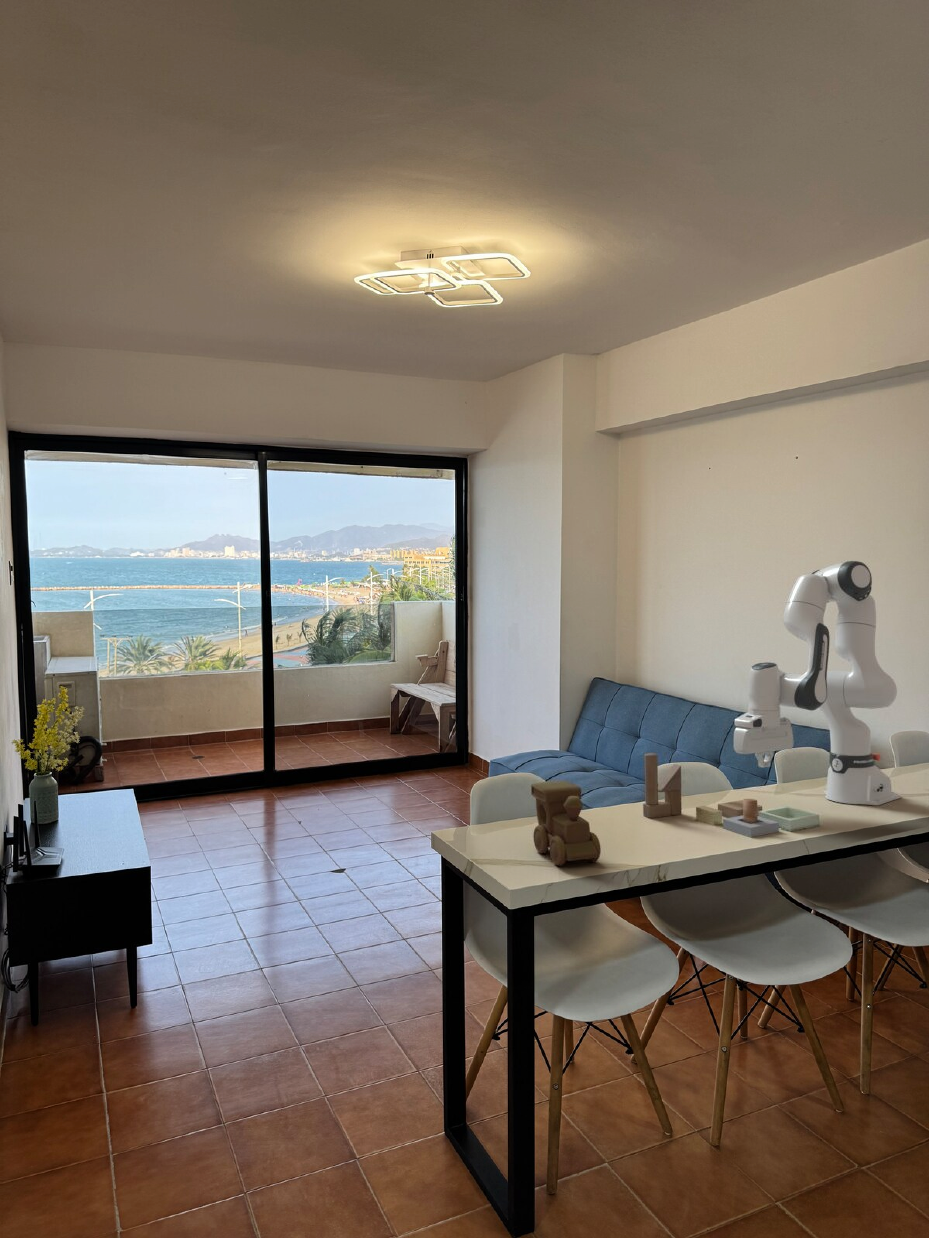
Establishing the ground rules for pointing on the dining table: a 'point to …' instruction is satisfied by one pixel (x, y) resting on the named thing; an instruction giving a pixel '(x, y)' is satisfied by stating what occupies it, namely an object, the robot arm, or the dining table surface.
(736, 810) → the brown flat block
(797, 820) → the tray
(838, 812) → the dining table surface
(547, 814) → the wooden toy train
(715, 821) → the olive green block
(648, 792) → the wooden block
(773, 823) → the socket block
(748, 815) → the dowel
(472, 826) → the dining table surface
